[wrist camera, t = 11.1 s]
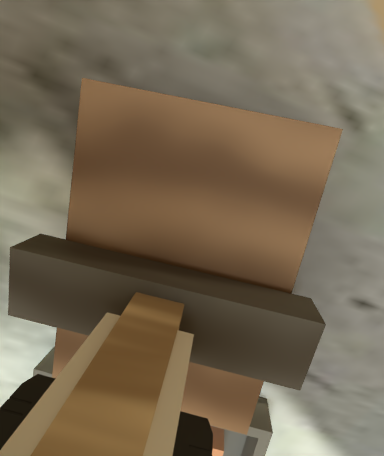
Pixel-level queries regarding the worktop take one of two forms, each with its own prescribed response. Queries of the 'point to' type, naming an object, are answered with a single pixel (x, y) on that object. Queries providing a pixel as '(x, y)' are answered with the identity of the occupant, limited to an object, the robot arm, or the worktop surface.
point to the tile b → (218, 441)
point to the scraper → (150, 334)
